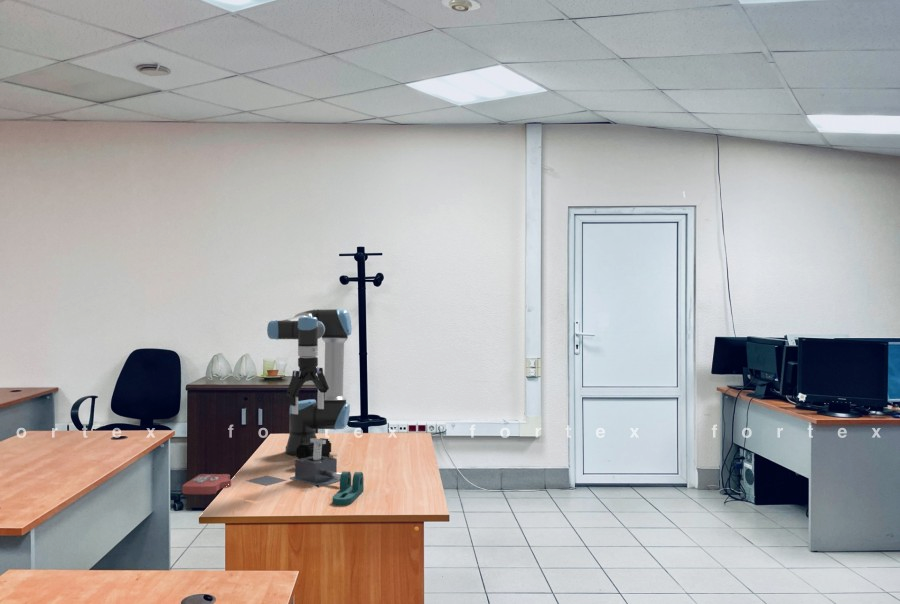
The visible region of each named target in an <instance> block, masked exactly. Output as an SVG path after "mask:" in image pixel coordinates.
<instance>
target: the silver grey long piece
mask: <svg viewBox="0 0 900 604" xmlns="http://www.w3.org/2000/svg"><path fill="white" fill-rule="evenodd" d="M310 442H313V443H314V451H313V461H319V460H321V451H322V444H326V440H322V439H320V438H317V439H316V438H310Z"/></svg>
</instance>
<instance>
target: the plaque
mask: <svg viewBox="0 0 900 604" xmlns="http://www.w3.org/2000/svg"><path fill="white" fill-rule="evenodd" d="M228 484H229V485H228ZM226 486H227V487H226ZM225 487H226V488H229V487H232V479H231V475H230V474H229V473H222V474H221V473H219V474H218V473H201V474H198V475H195V476H194V477H193V478H192V479H190V480H189V481H187V482H186V483H184V484H183V485H182V495H215V494H217V493H218V492H219V490H221V489H225Z"/></svg>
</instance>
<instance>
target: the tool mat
mask: <svg viewBox="0 0 900 604" xmlns="http://www.w3.org/2000/svg"><path fill="white" fill-rule="evenodd" d="M245 481H246V482H249V483H253V484H257V485H262V486H266V487H267V486H271V485H276V484H279V483H283V482H286V481H288V479H285V478H280V477H275V476H270V475H264V476H263V475H262V476H259V477H254V478H251V479H247V480H245Z"/></svg>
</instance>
